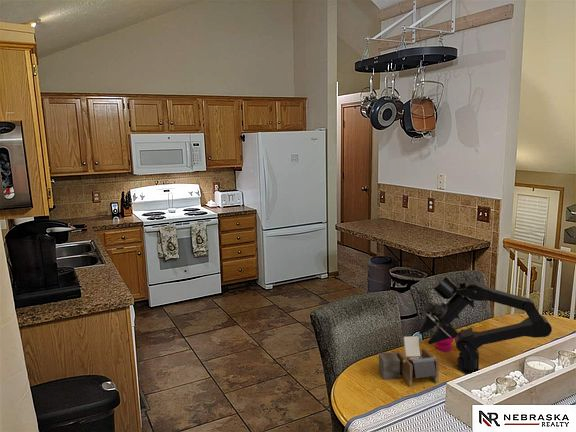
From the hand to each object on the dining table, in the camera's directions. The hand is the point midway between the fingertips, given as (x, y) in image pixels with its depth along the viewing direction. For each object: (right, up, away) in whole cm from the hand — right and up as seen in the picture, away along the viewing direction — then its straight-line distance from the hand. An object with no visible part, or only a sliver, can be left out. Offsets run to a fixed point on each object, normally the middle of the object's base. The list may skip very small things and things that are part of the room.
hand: (424, 338), depth 165 cm
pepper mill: (+14, -10, +19) cm, 26 cm away
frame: (-3, -13, -3) cm, 14 cm away
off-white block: (-4, -7, +1) cm, 8 cm away
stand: (-13, -13, 0) cm, 18 cm away
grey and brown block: (-3, -12, -4) cm, 13 cm away
